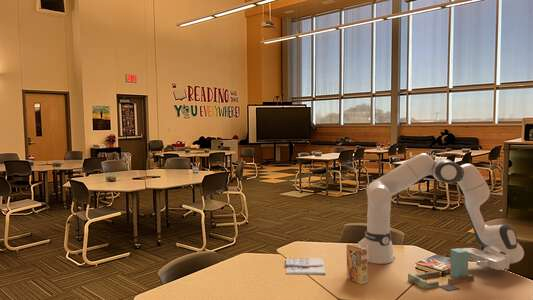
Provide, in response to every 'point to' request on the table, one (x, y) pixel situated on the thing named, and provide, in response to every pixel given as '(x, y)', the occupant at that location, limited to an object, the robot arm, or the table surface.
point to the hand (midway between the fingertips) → (469, 260)
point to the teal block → (459, 262)
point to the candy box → (357, 263)
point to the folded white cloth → (296, 263)
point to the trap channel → (424, 284)
